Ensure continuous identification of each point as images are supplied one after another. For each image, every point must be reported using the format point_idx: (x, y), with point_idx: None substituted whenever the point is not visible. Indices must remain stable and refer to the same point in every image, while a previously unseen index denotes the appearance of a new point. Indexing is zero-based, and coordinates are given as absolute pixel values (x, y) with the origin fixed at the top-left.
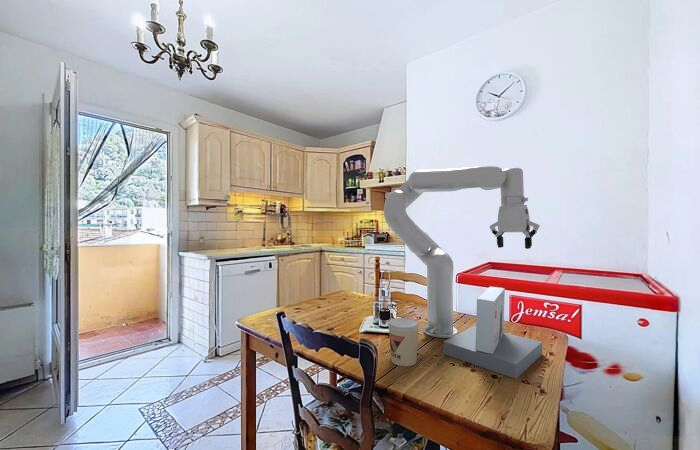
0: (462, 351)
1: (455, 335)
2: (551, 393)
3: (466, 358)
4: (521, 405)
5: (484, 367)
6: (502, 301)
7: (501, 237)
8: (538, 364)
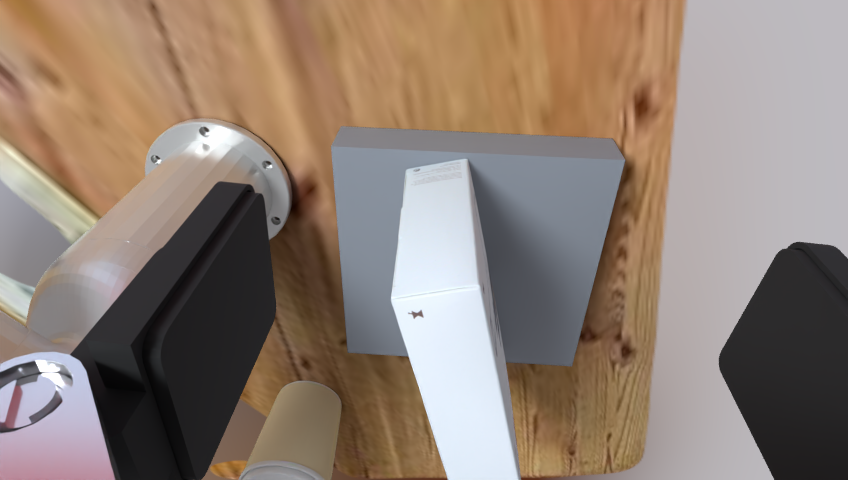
0: None
1: (343, 293)
2: (645, 348)
3: None
4: (593, 412)
5: None
6: (494, 325)
7: (181, 420)
8: None
